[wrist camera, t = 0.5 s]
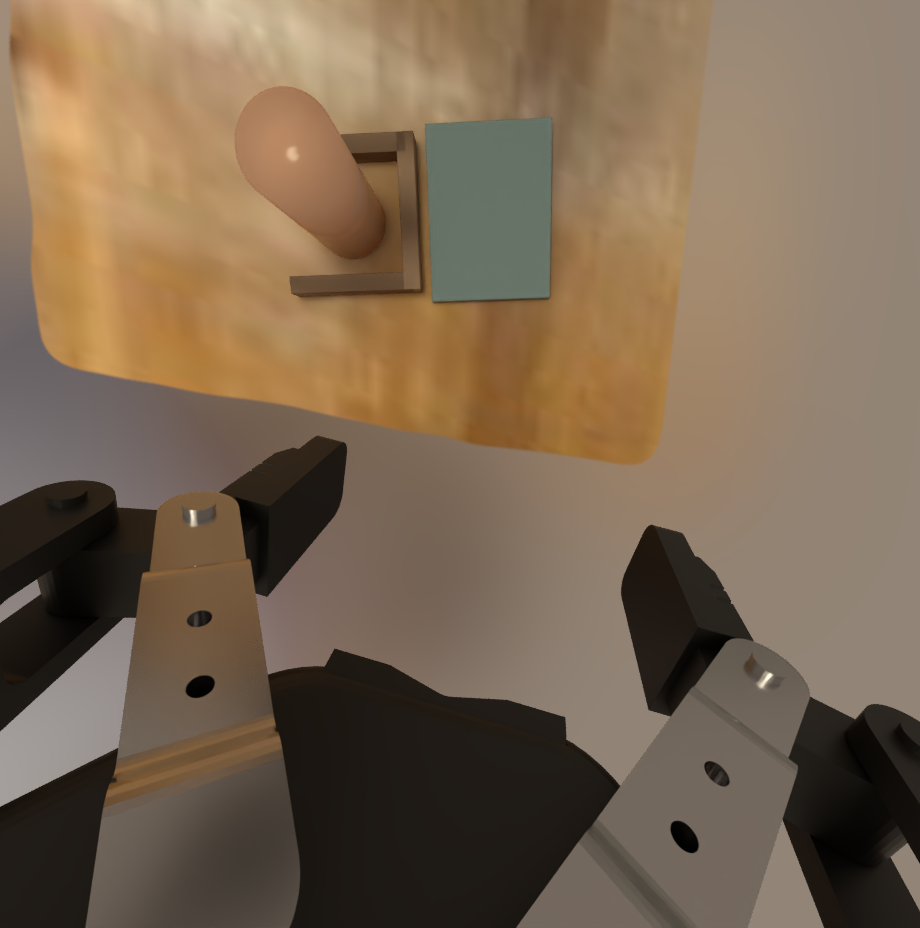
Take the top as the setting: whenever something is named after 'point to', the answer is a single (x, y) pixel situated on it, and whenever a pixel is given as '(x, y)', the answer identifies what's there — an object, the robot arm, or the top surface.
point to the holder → (410, 279)
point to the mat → (489, 209)
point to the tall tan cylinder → (308, 170)
